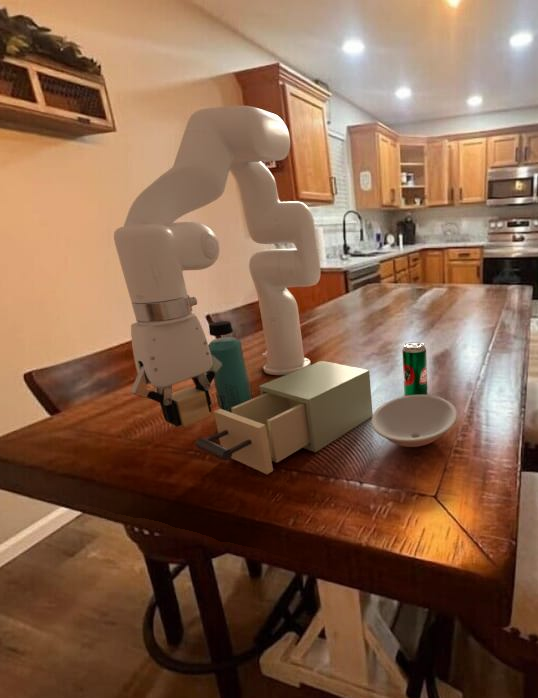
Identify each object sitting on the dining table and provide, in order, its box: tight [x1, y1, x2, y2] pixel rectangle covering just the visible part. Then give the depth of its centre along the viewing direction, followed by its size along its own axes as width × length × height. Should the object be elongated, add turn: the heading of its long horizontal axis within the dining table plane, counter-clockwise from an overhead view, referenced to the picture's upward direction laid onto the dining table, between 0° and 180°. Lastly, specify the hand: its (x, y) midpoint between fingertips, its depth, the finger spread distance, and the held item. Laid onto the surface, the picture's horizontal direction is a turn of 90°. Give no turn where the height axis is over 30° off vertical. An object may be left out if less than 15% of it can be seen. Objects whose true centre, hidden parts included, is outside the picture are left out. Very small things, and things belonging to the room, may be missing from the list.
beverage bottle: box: [208, 320, 253, 413], centre depth 80 cm, size 6×7×20 cm
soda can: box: [401, 341, 428, 396], centre depth 87 cm, size 5×5×12 cm
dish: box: [371, 394, 458, 448], centre depth 70 cm, size 18×14×5 cm
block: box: [172, 386, 211, 428], centre depth 67 cm, size 4×4×4 cm
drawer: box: [195, 393, 311, 475], centre depth 67 cm, size 20×12×8 cm, turn 146°
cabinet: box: [258, 360, 374, 453], centre depth 77 cm, size 16×13×10 cm
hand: (190, 416), depth 68 cm, fingers closed on block, 4 cm apart
